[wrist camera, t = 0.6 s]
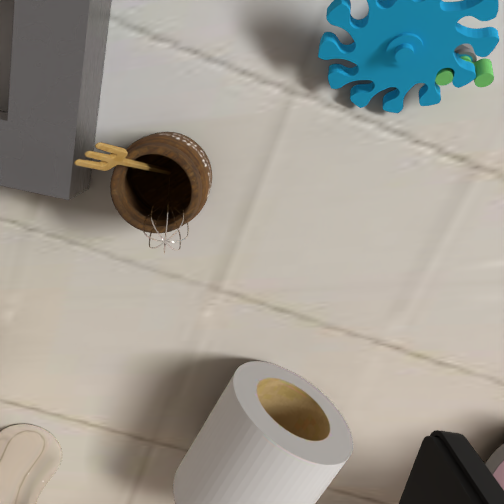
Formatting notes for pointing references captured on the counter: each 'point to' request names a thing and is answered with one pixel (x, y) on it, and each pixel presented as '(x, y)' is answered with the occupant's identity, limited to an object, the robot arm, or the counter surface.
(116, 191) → the utensil holder
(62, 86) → the hollow square block
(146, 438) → the counter surface
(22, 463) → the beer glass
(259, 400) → the toilet paper
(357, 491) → the counter surface
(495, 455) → the blender
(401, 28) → the gear
